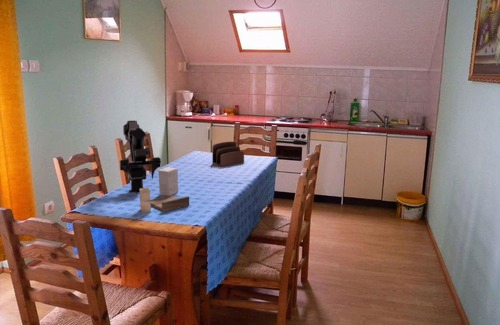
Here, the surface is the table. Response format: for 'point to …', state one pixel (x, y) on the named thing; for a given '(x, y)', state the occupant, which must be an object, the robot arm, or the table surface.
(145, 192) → the beige rectangular block
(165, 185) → the small box
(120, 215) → the table surface
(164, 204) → the brown wooden tray
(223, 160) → the letter holder
